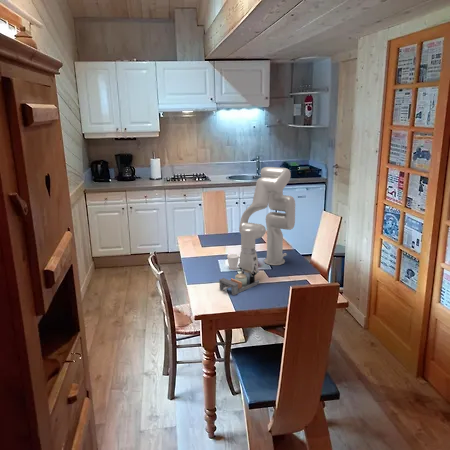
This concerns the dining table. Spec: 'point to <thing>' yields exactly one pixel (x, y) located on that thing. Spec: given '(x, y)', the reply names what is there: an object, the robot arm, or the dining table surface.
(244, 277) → the jar resting
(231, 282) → the lane
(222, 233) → the dining table surface
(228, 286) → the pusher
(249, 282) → the jar
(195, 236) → the dining table surface
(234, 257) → the cup
